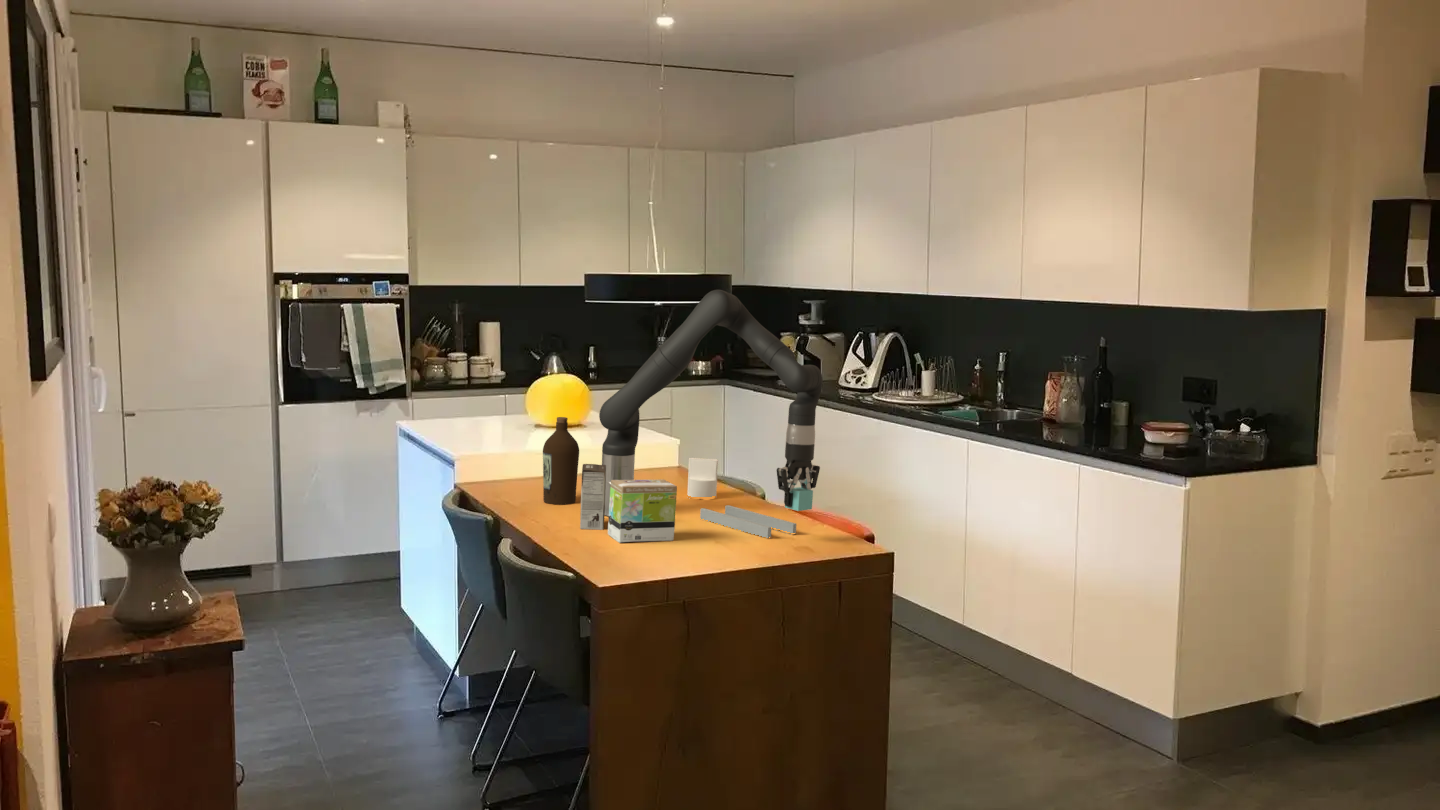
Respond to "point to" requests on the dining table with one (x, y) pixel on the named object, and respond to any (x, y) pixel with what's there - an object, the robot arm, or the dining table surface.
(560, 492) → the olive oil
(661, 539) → the tea box
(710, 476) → the cylinder with rectangular tab
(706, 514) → the rails
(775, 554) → the dining table surface
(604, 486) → the coffee box
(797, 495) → the teal block
